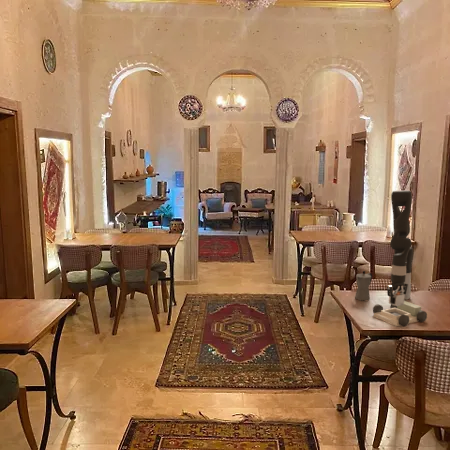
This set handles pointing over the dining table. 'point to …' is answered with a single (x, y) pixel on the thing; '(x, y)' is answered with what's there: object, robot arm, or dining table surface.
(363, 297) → the coffeepot
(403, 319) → the chassis
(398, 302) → the cube with copper knob
